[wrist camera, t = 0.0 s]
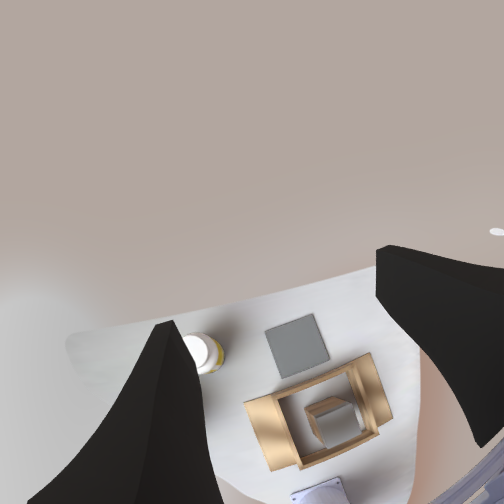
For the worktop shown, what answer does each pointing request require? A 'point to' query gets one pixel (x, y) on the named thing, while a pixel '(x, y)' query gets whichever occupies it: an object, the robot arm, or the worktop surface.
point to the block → (333, 421)
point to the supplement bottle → (204, 352)
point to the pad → (297, 346)
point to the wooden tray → (267, 408)
